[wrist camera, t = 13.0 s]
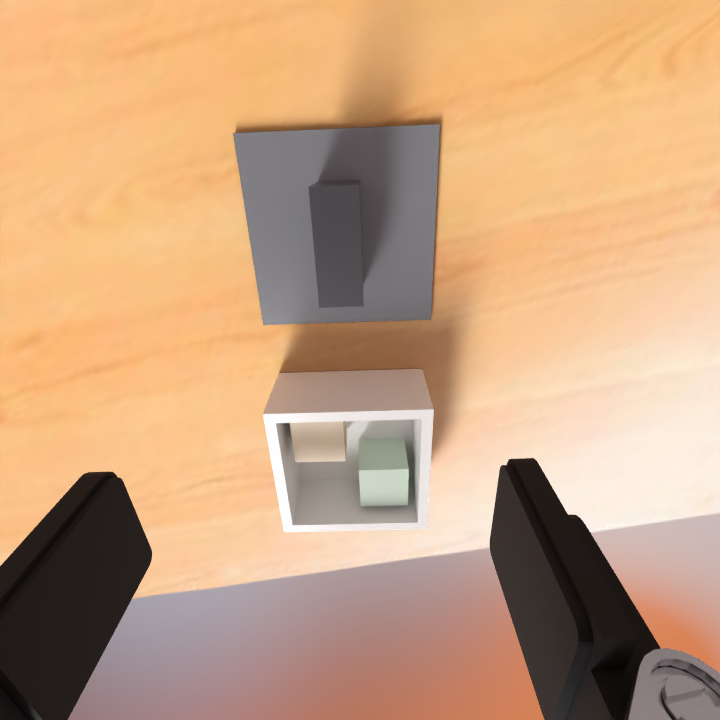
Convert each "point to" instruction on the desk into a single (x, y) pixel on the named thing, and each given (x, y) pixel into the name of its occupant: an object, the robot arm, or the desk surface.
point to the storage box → (349, 446)
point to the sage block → (383, 472)
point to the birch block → (319, 441)
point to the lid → (341, 222)
